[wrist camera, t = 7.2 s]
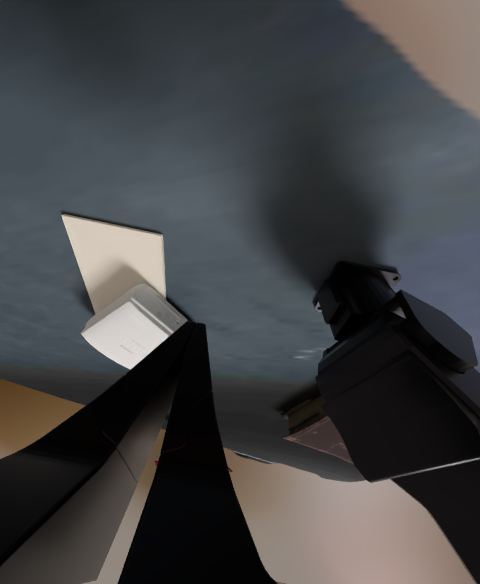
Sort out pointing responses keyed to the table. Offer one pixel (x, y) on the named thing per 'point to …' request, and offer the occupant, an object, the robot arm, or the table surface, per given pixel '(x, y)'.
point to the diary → (315, 429)
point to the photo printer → (133, 325)
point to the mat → (115, 258)
